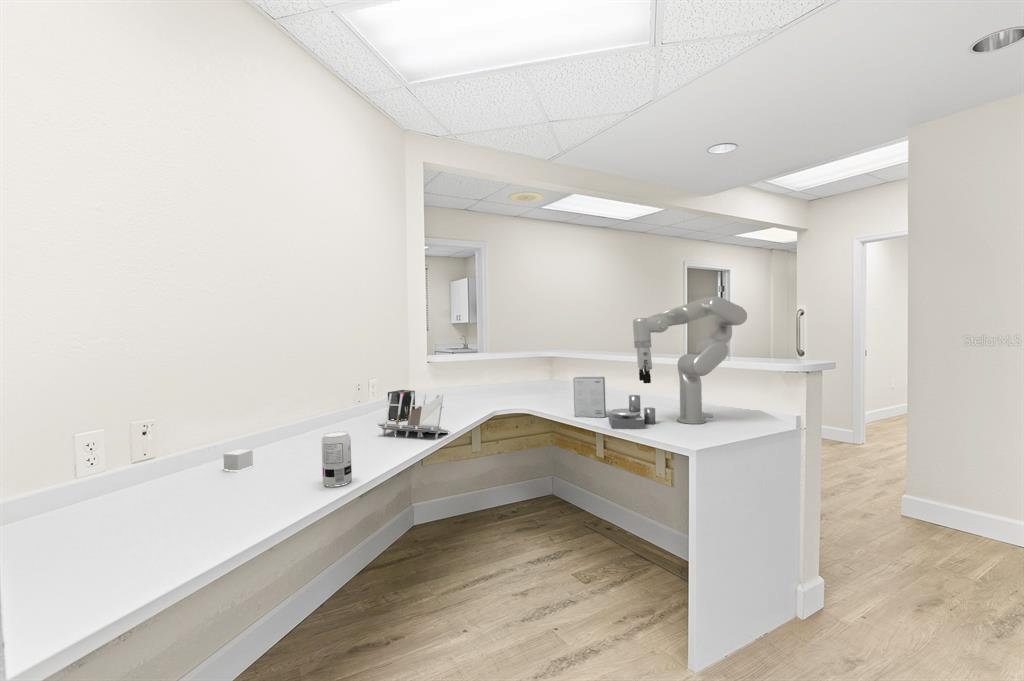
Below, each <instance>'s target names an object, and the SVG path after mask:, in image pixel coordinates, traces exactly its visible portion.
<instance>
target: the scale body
mask: <svg viewBox="0 0 1024 681" xmlns="http://www.w3.org/2000/svg"><path fill="white" fill-rule="evenodd" d="M608 423H609V426H610V428H611V429H612V430H644V429H645V423H644V417H642V415H641V414H640V415H636V416H629V417H622V416H619V415H613V414H611V413H609V414H608Z"/></svg>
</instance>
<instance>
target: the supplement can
mask: <svg viewBox="0 0 1024 681" xmlns="http://www.w3.org/2000/svg"><path fill="white" fill-rule="evenodd" d="M351 445H352V444H351V436H350V434H349V432H347V431H344V430H343V431H339V430H338V431H332V432H327V433H325V434H323V437H322V439H321V460H322V462H321V464H322V465H321V466H322V467H321V468H322V484H323V485H324V486H325V485H328V486H335V485H342V484H345V483H348V482H349V483H351V481H352V480H353V474H352V469H353V468H352V446H351ZM349 483H348V484H349Z"/></svg>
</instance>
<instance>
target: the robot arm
mask: <svg viewBox="0 0 1024 681" xmlns="http://www.w3.org/2000/svg"><path fill="white" fill-rule="evenodd" d="M709 316H714V319H715V320H714V321H715V326H714V329H713V330H712V332H710V333H709V335H707V336H706V337H705V338H704V339H703V340H701V341H700V342H699V343H698V344H697V346H696V347H695V353H696V354H695V353H694V354H693V353H686V354H683V355H682V356H680V357H679V359H678V360H677V371H678V376H679V416H677V418H676V422H678V423H681V424H689V425H691V424H692V425H697V424H699V425H701V424H705V423H706V419H707V418H708V419H712V418H714V414H713V413H705V412H703V407H702V406H703V403H702V400H703V399H702V398H703V396H702V392H703V391H702V386H703V385H702V379H701V377H704V376H707V375H708V374H710V373H712V371H713V370H714V369H716V368H717V367H718V366H719V365H720V364H721V363H722V362H724V360H725V359H726V358H727V357H728V354H729V346H728V343H730V341H731V340H732V337H733V326H741V325H743V324H745V322H747V320H748V319H747V318H748V312H747V311H746V310H745V309H744V308H743V306H740V305H738V304H736V303H734V302H731V301H729V300H727V299H725V298H723V297H720V296H708V297H704V298H703V297H702V298H701V299H698V300H694V301H692V302H689V303H687V304H683V305H681V306H677V307H674V308H672V309H669V310H666V311H662V312H659V313H657V314H653V315H650V316H649V317H637V318H634V319H633V320H632V328H633V329H632V330H633V343H634V346H633V347H634V349H636V359H637V360H636V361H637V368H638V375H639V376H638V377H639V381H640V382H641V381H643V384H651V382H652V380H651V377H652V376H651V370H652V369H653V364H652V363H653V362H652V353H651V349H652V336H651V334H652V333H656V334H658V333H660V334H661V333H664V332H666V331H667V330H668V329H669V327H672V326H680V325H685V324H689V323H691V322H694V321H697V320H699V319H703V318H706V317H709Z"/></svg>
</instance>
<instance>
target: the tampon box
mask: <svg viewBox="0 0 1024 681" xmlns="http://www.w3.org/2000/svg"><path fill="white" fill-rule="evenodd" d="M390 393H391V394H392V396H391V402H390V404H398V405H399V402H400V396H401V394H403V398H402V404H401V410H400V417H399V420H405V419H408V418H409V412H410V405H411V399H412V394H414V401H413V405H416V391H415V390H411V389H399V390H395V391H387V402H388V401H389V395H390ZM398 408H399V406H391V405H390V408H389V414H388V420H389V419H394V420H397V415H398ZM415 408H416V407H415V406H413V407H412V410H414V409H415ZM405 421H406V420H405Z"/></svg>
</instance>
